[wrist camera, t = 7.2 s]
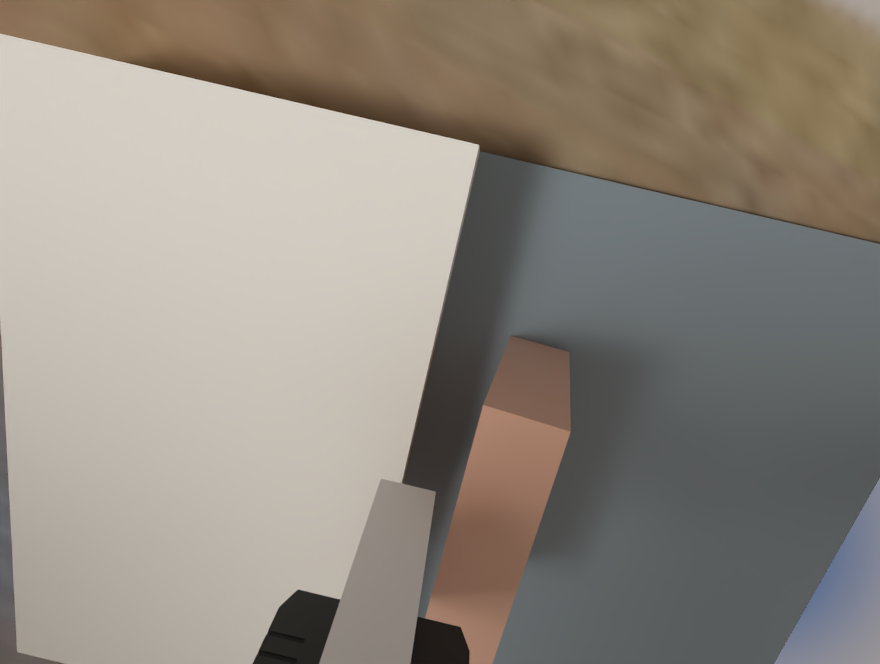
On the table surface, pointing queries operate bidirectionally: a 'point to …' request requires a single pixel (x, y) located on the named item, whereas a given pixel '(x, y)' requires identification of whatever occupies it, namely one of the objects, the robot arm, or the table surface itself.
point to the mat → (661, 412)
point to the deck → (203, 347)
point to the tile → (503, 493)
